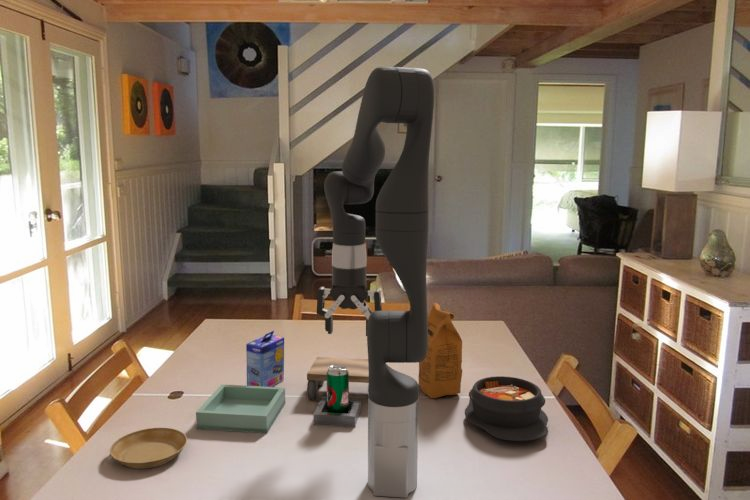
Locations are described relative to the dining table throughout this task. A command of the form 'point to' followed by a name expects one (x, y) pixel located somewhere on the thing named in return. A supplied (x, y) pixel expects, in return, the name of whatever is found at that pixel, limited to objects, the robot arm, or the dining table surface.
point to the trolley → (320, 366)
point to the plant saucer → (148, 447)
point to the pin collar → (337, 414)
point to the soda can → (338, 389)
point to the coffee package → (441, 356)
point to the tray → (241, 408)
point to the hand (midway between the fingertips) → (349, 334)
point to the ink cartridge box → (265, 361)
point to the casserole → (508, 408)
